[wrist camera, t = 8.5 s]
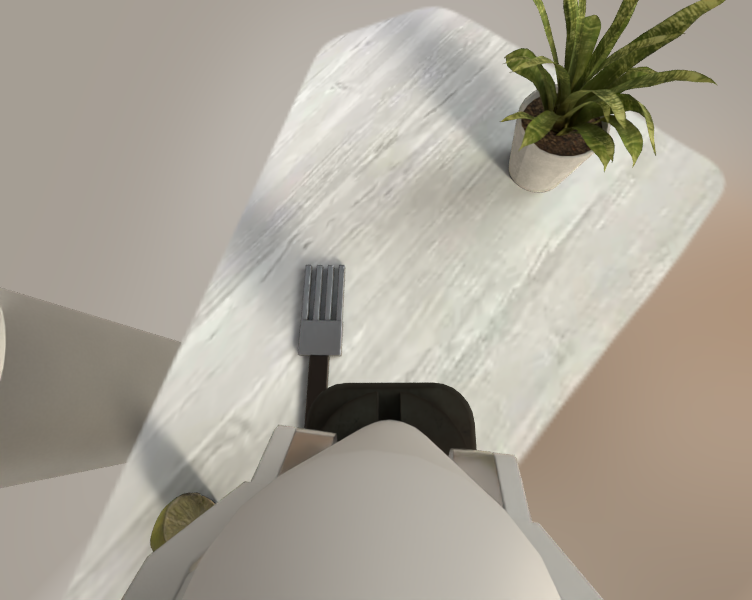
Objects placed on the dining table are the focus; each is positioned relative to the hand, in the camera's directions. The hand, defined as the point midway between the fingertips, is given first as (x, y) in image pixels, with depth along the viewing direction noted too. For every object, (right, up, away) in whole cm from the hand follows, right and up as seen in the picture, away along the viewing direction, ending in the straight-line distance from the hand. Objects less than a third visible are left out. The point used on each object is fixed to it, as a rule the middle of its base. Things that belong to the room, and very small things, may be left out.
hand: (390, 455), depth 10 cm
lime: (-13, -13, +20) cm, 27 cm away
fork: (-5, -2, +22) cm, 23 cm away
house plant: (+13, +16, +26) cm, 34 cm away
